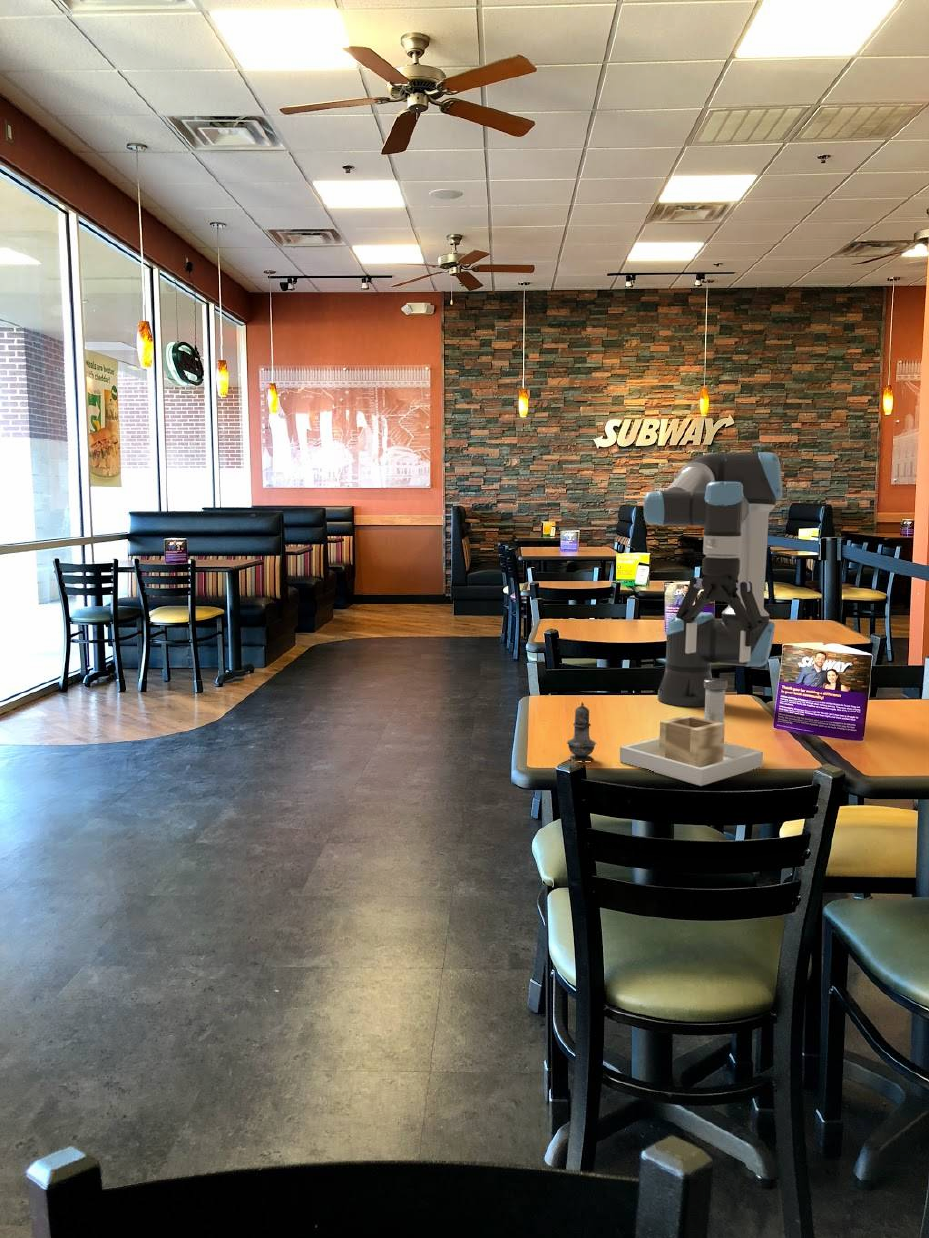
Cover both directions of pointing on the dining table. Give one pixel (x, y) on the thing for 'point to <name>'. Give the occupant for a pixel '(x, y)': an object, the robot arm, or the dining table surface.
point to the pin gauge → (715, 699)
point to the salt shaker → (581, 736)
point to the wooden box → (692, 740)
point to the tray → (732, 764)
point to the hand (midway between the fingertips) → (716, 657)
